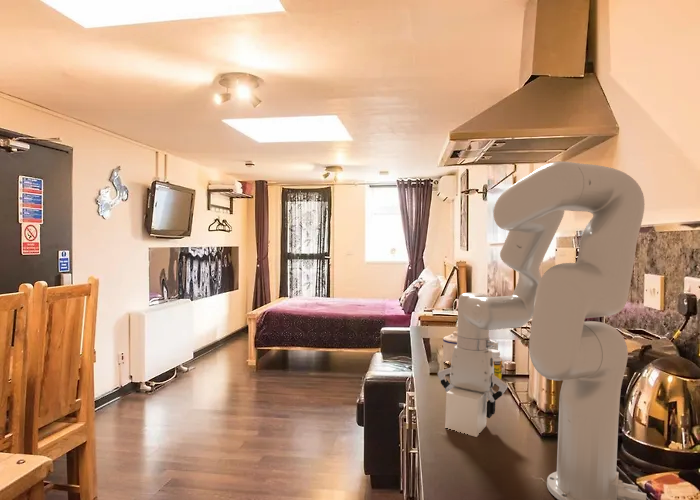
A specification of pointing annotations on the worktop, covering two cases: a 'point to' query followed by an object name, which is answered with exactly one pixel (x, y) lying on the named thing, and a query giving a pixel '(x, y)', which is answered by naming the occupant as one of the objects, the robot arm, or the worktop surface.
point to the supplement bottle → (497, 363)
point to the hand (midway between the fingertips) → (470, 411)
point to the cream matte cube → (466, 411)
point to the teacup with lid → (449, 346)
